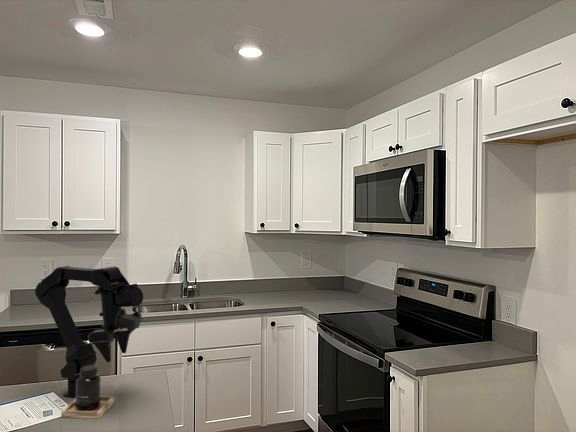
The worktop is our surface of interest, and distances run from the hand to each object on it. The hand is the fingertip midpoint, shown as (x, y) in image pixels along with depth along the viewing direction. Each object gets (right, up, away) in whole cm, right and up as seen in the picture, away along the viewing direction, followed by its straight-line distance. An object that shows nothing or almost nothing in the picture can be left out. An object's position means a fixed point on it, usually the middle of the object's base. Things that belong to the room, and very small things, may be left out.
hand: (116, 357), depth 142 cm
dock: (-6, -14, -6) cm, 16 cm away
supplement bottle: (-6, -13, -6) cm, 16 cm away
